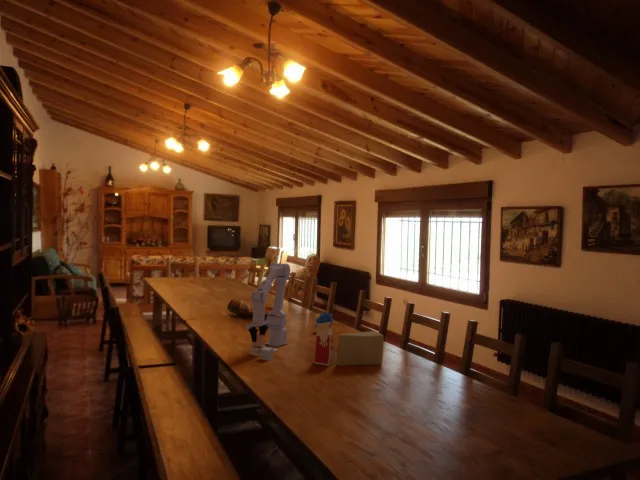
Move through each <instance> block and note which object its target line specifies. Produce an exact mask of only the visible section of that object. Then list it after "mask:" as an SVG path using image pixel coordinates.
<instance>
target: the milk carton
mask: <svg viewBox="0 0 640 480" xmlns="http://www.w3.org/2000/svg"><path fill="white" fill-rule="evenodd" d="M315 324H316V323H315ZM316 325H317V328H316V337H315V345H314V346H315V347H314V349H315V350H314V358H313V360H314V362H313V364H316V365H323V366H327V367H330V366H331V365H332V364H334V362H336V351H335V350H336V349H335V339H334V335H333V329H332V324H331V325H330V322H327V323H322V324H316Z"/></svg>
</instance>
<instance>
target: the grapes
mask: <svg viewBox="0 0 640 480" xmlns="http://www.w3.org/2000/svg"><path fill="white" fill-rule="evenodd" d="M327 322H330V325H331V326H332V324H333V322H334V319H333V314H332V313H329V312H328V311H325V312H324V313H320V314H319V316H318V317H317V318H316V319H315V324H314V327H315V328H316V329H317V325H316V324H322V323H327Z"/></svg>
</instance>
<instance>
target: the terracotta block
mask: <svg viewBox="0 0 640 480" xmlns="http://www.w3.org/2000/svg"><path fill="white" fill-rule="evenodd" d="M251 346H257V347H258V346H265V336H264V335H262V334H260V333H257V338H256V342H252V341H251Z"/></svg>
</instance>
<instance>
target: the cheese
mask: <svg viewBox="0 0 640 480" xmlns="http://www.w3.org/2000/svg"><path fill="white" fill-rule="evenodd" d="M384 339H385V338H384V335H383V334H382V333H379V332H378V331H376V330H373V331H372V330H371V331H361V332H353V333H341V334H340V335H339V337H338V341H337V342H338V343H337V350H336V365H337V366H338V367H341V366H342V367H343V366H345V367H347V366H370V365H371V366H376V365H377V366H379V365H382V364H383V357H384V356H383V355H384Z"/></svg>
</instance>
